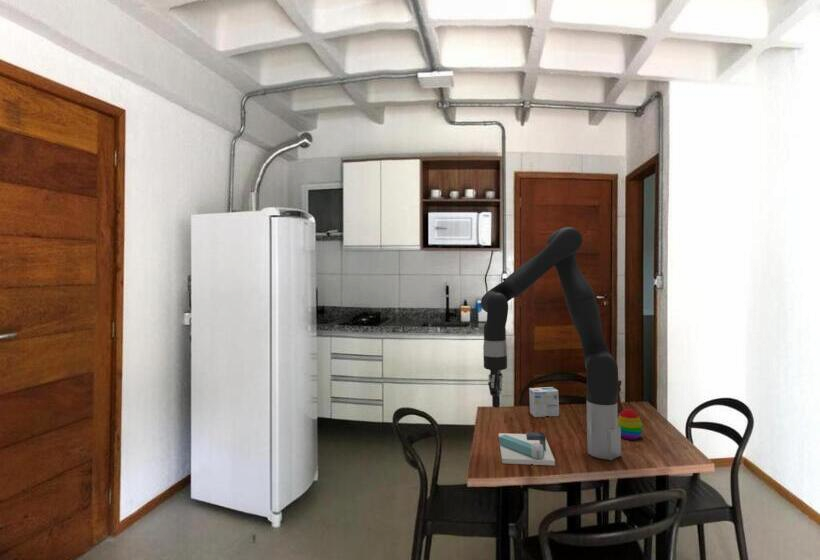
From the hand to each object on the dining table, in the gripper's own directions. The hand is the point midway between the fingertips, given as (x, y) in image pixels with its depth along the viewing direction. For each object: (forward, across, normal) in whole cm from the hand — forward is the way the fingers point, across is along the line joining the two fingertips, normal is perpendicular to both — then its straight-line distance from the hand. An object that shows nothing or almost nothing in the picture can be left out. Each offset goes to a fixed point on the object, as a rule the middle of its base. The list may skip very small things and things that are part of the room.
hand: (496, 406), depth 142 cm
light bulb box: (+17, +49, -11) cm, 53 cm away
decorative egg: (+16, +31, -42) cm, 55 cm away
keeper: (+15, +7, -11) cm, 20 cm away
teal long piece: (+15, +3, -7) cm, 17 cm away
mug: (+17, +58, -35) cm, 70 cm away
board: (+16, +8, -8) cm, 20 cm away
